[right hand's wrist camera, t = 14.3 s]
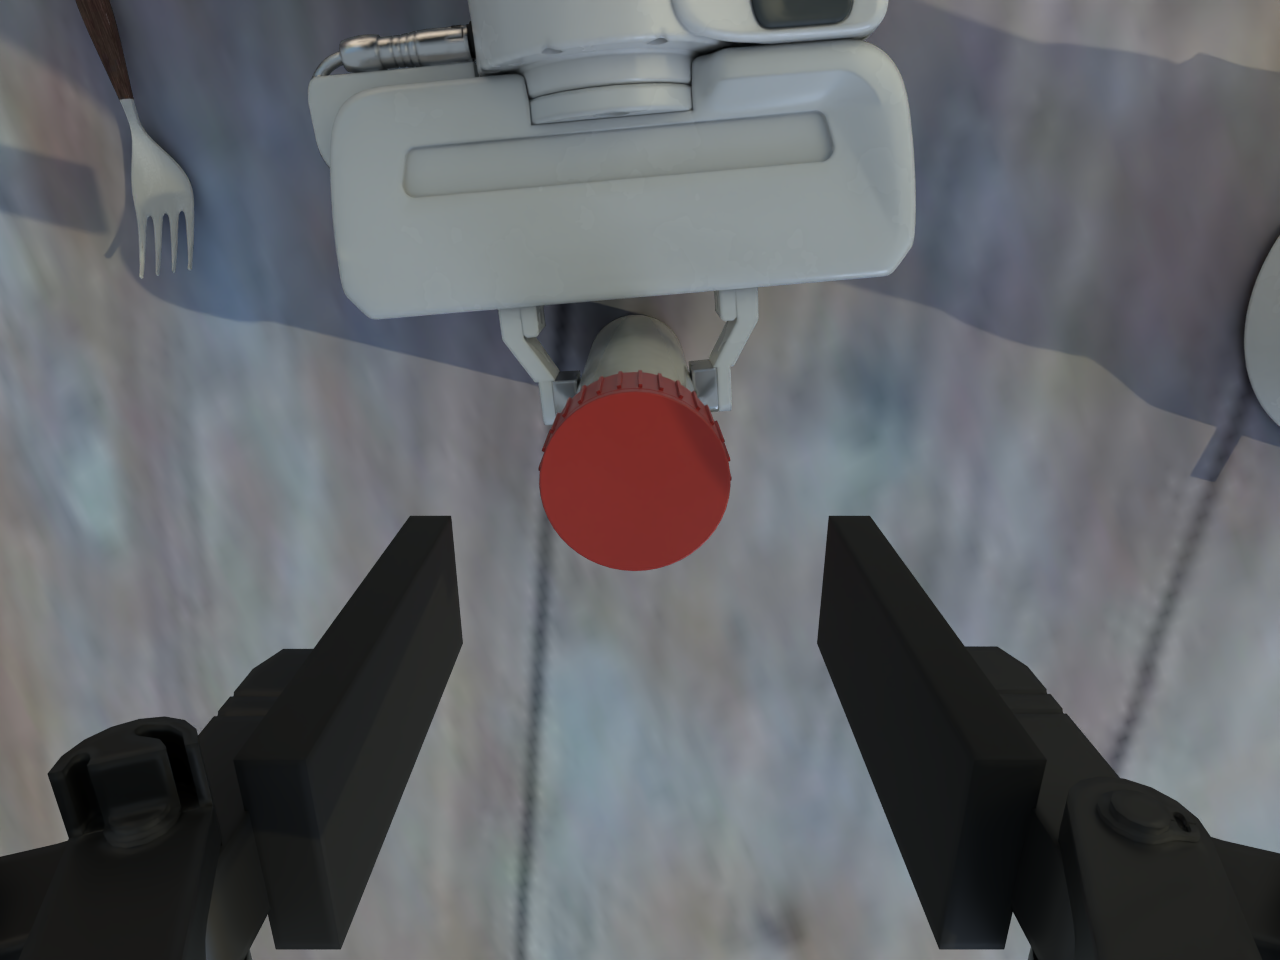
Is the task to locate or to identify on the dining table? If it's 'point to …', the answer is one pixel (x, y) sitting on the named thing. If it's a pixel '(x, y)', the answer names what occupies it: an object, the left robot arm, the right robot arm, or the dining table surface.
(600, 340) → the jar
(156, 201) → the fork
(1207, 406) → the dining table surface
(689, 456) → the lid
